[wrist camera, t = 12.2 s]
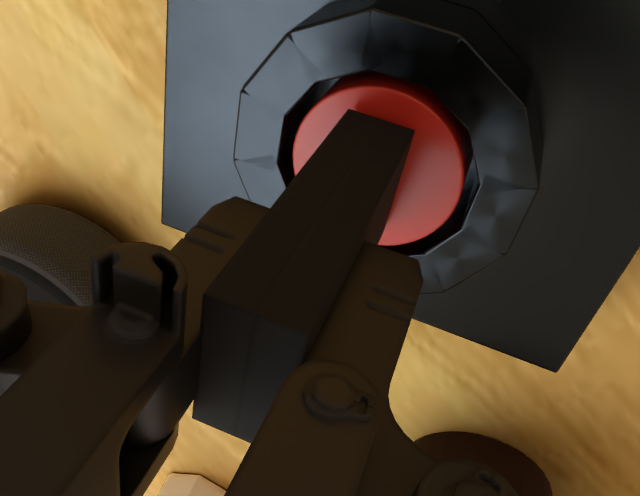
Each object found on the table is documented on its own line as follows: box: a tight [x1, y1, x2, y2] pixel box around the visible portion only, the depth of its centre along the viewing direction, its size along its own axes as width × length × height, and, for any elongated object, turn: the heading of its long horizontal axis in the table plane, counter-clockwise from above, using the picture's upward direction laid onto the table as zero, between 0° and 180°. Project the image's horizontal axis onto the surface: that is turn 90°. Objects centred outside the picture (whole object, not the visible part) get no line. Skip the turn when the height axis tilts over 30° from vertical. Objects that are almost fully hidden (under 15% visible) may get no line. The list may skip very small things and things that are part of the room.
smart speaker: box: [0, 204, 121, 306], centre depth 26 cm, size 9×9×4 cm
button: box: [293, 70, 473, 246], centre depth 14 cm, size 4×4×2 cm
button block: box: [161, 0, 640, 373], centre depth 16 cm, size 13×11×5 cm
